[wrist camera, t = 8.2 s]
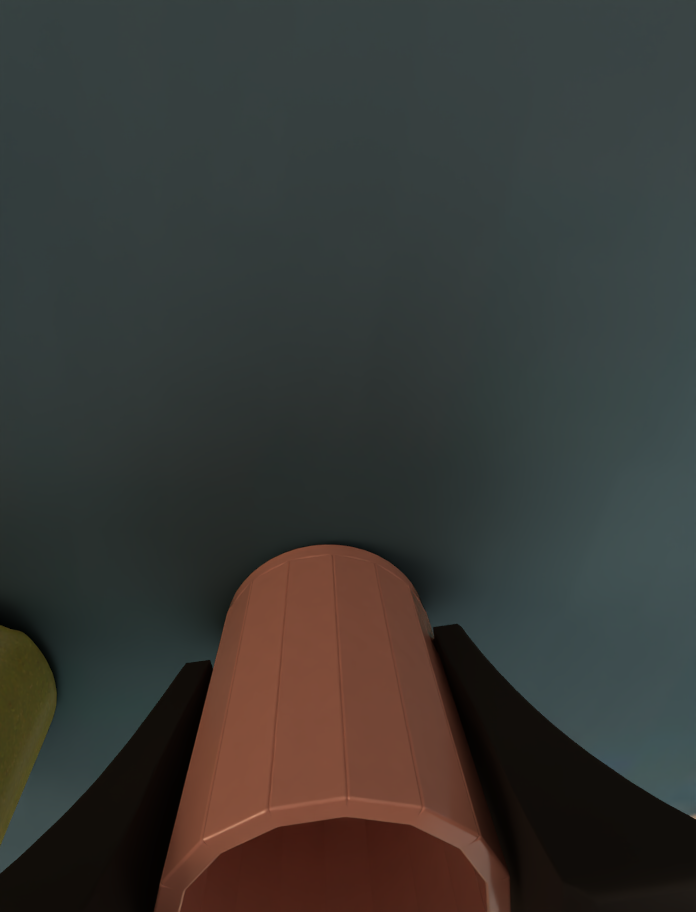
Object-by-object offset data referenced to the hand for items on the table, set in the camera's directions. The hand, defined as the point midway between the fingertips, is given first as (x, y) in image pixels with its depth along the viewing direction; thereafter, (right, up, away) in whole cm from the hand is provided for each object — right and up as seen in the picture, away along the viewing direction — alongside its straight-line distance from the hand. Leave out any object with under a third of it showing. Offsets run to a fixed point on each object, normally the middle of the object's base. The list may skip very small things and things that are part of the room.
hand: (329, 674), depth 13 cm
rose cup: (0, +1, +2) cm, 2 cm away
